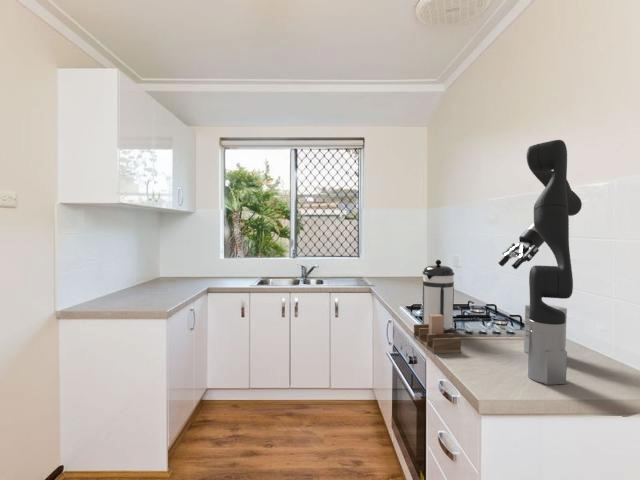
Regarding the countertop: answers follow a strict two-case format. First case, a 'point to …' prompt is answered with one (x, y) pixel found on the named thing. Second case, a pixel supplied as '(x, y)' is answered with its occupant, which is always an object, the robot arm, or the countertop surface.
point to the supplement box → (526, 332)
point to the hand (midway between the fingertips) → (506, 266)
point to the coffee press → (438, 293)
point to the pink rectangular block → (436, 324)
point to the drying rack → (437, 340)
